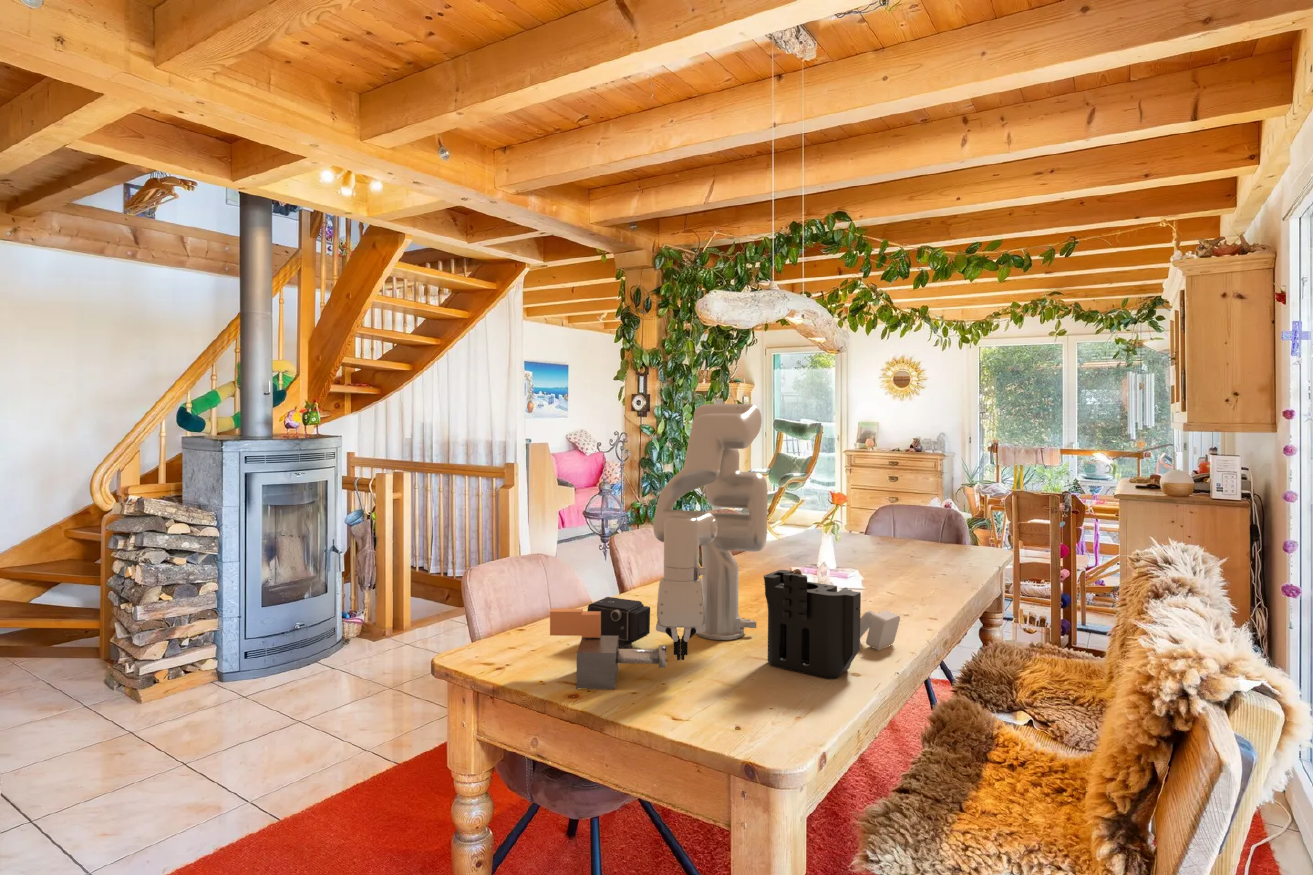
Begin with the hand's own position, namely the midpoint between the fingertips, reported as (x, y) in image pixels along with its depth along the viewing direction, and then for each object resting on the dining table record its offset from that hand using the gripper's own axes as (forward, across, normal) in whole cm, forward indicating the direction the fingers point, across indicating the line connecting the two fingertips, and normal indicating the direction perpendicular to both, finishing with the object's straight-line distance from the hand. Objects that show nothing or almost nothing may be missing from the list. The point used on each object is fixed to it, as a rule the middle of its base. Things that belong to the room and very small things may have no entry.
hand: (680, 658), depth 158 cm
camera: (+5, +14, -24) cm, 29 cm away
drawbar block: (+5, +18, 0) cm, 18 cm away
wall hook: (+5, -48, -26) cm, 55 cm away
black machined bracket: (+5, -29, -7) cm, 31 cm away
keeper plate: (-3, +23, -5) cm, 24 cm away
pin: (+2, +11, 0) cm, 11 cm away
